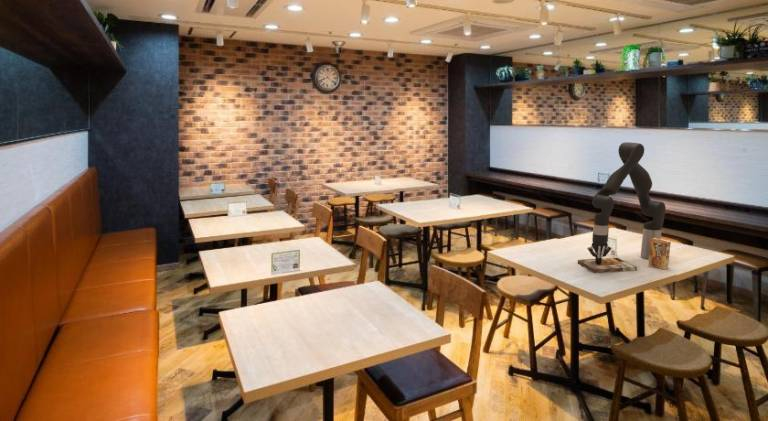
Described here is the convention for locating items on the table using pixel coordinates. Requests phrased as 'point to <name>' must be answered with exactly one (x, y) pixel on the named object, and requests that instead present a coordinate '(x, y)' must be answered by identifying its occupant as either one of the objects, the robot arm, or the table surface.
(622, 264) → the compartment board
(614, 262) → the ochre block
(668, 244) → the candy box
